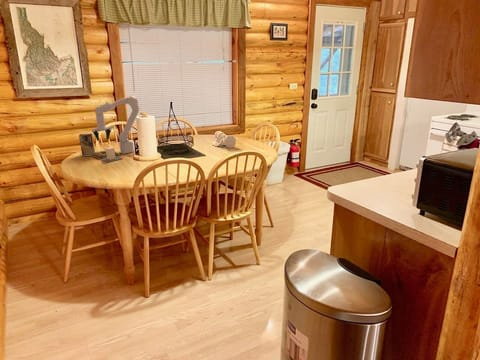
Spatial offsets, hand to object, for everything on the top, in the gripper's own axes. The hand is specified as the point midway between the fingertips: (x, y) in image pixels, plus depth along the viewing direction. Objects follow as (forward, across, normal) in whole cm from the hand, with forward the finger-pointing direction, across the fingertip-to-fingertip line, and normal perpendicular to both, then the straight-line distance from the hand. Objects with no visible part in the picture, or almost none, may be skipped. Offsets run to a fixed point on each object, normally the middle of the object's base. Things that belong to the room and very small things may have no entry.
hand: (103, 140), depth 283 cm
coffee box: (+11, +11, -4) cm, 16 cm away
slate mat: (+10, +4, +20) cm, 23 cm away
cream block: (+10, +4, +20) cm, 22 cm away
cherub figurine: (+10, -80, +48) cm, 94 cm away
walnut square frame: (+10, +3, +7) cm, 13 cm away
